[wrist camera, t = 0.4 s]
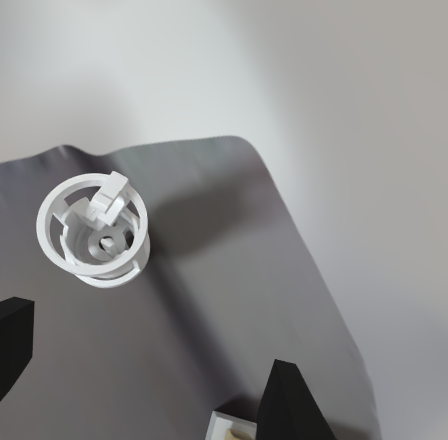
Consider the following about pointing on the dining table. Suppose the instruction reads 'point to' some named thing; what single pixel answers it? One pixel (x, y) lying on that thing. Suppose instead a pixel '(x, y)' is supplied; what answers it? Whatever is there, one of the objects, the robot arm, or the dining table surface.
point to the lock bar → (236, 435)
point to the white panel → (228, 426)
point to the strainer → (97, 229)
